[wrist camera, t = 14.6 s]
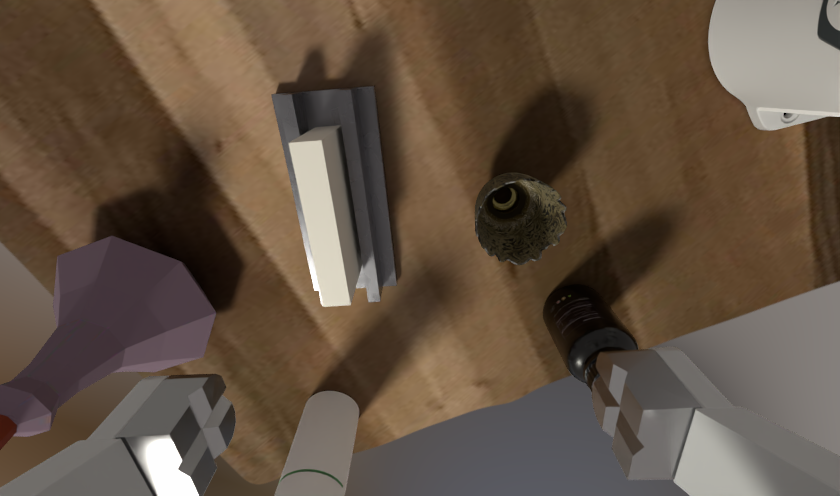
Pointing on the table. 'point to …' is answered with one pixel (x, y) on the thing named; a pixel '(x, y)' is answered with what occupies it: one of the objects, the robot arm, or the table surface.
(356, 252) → the door panel
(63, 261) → the flask
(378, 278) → the floor track
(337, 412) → the cylindrical container
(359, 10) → the table surface
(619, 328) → the supplement bottle
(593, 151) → the table surface
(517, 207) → the dark grey small vase
